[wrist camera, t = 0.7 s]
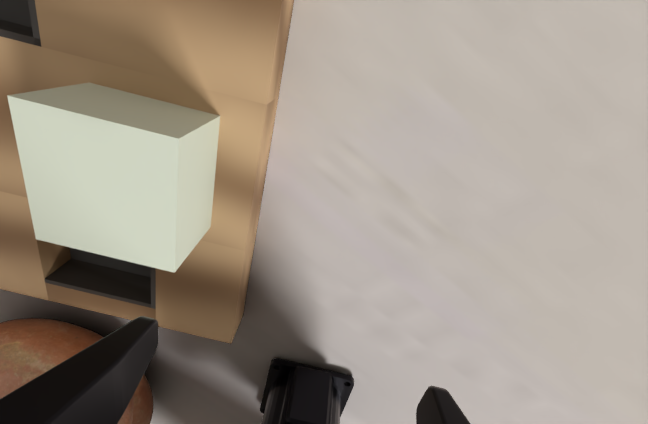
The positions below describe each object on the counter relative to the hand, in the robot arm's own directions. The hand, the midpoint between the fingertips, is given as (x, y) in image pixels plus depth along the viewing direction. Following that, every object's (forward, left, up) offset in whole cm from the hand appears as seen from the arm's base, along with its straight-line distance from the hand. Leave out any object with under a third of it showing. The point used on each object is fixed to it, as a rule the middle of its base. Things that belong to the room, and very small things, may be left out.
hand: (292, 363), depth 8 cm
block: (0, +9, -9) cm, 13 cm away
